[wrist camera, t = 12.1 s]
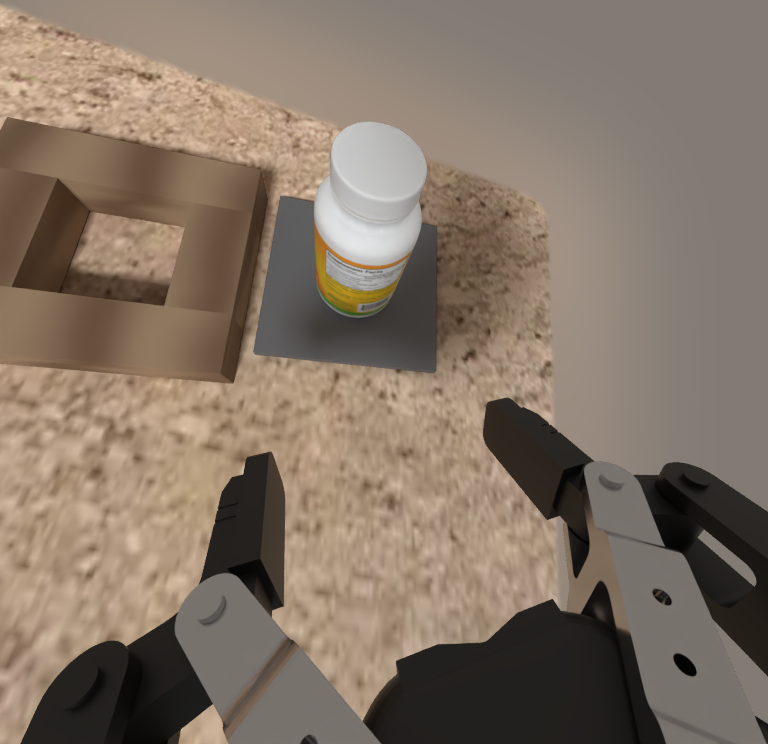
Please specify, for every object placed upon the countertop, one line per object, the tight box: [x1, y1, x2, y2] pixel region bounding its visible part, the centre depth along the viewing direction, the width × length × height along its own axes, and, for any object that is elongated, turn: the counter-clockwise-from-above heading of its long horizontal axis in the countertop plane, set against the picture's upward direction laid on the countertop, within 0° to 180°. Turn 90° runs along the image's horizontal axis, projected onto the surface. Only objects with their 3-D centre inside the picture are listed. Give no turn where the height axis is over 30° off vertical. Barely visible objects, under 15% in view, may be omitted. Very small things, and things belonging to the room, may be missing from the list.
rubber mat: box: [253, 196, 437, 373], centre depth 22 cm, size 12×12×1 cm
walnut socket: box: [0, 117, 267, 383], centre depth 18 cm, size 14×14×2 cm
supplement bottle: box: [314, 122, 427, 318], centre depth 17 cm, size 5×5×10 cm
